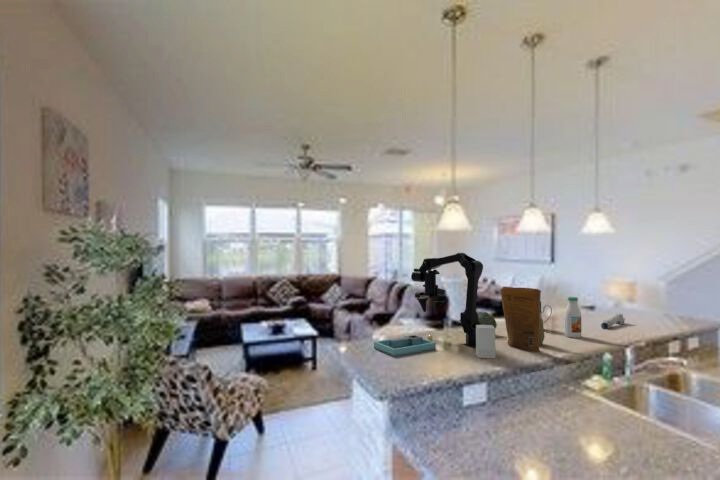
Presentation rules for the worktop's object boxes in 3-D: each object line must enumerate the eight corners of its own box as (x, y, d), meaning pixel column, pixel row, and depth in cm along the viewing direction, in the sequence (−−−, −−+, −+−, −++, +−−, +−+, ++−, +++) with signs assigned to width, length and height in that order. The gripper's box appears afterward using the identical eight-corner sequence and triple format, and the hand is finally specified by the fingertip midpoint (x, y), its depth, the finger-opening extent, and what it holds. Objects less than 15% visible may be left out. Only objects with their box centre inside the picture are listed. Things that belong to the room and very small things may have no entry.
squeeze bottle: (544, 342, 200) (544, 305, 200) (544, 346, 193) (544, 307, 193) (526, 341, 204) (526, 304, 204) (525, 345, 196) (525, 306, 196)
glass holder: (529, 326, 238) (529, 299, 238) (555, 330, 228) (555, 302, 228) (522, 328, 232) (522, 301, 232) (548, 332, 222) (548, 304, 222)
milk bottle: (565, 337, 211) (564, 297, 211) (563, 334, 218) (563, 295, 218) (582, 338, 208) (582, 298, 208) (580, 335, 215) (580, 296, 215)
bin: (435, 349, 190) (435, 342, 190) (393, 356, 179) (393, 349, 179) (414, 341, 204) (414, 335, 204) (373, 348, 192) (373, 341, 192)
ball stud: (433, 342, 201) (433, 335, 201) (429, 343, 200) (429, 336, 200) (430, 341, 204) (430, 334, 204) (426, 342, 202) (426, 335, 202)
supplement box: (495, 358, 175) (495, 328, 175) (477, 357, 176) (477, 327, 176) (493, 353, 182) (493, 324, 182) (475, 353, 184) (475, 324, 184)
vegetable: (503, 328, 224) (498, 320, 212) (485, 344, 224) (480, 337, 212) (486, 312, 231) (481, 304, 219) (469, 328, 231) (463, 320, 219)
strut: (394, 350, 185) (394, 341, 185) (387, 347, 190) (387, 339, 190) (422, 346, 193) (422, 337, 193) (414, 343, 198) (414, 334, 198)
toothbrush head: (599, 321, 231) (615, 310, 247) (600, 333, 232) (616, 321, 248) (609, 323, 227) (625, 311, 243) (610, 335, 228) (626, 322, 244)
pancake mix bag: (536, 354, 181) (536, 289, 181) (499, 345, 197) (499, 285, 196) (545, 351, 185) (545, 288, 185) (508, 343, 200) (507, 284, 200)
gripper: (454, 283, 210) (454, 314, 210) (430, 280, 226) (431, 309, 226) (437, 284, 204) (437, 316, 204) (414, 281, 221) (414, 311, 221)
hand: (430, 313), depth 214 cm, fingers open, 9 cm apart
